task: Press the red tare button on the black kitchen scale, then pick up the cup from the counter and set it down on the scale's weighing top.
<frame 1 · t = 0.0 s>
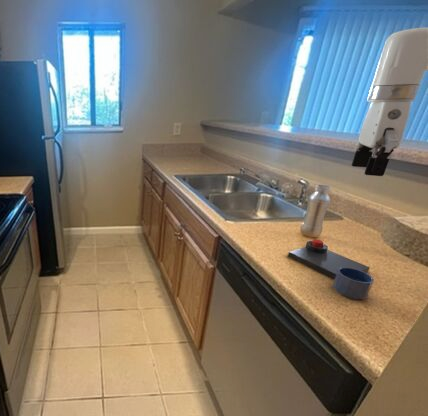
hand: (366, 170, 67), 33 cm above the worktop, tool pointing down, fingers open, 9 cm apart
cup: (348, 291, 75), on the worktop
scale: (325, 264, 88), on the worktop
tare button: (317, 243, 92), point 4 cm above the worktop, slide at 0.1 cm
silver bottle: (309, 235, 106), on the worktop
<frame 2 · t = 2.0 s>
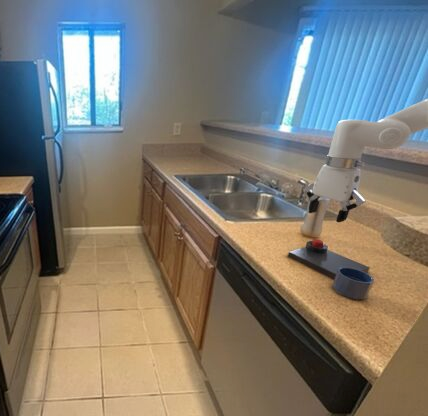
hand: (325, 216, 89), 14 cm above the worktop, tool pointing down, fingers open, 7 cm apart
nothing on the worktop moved.
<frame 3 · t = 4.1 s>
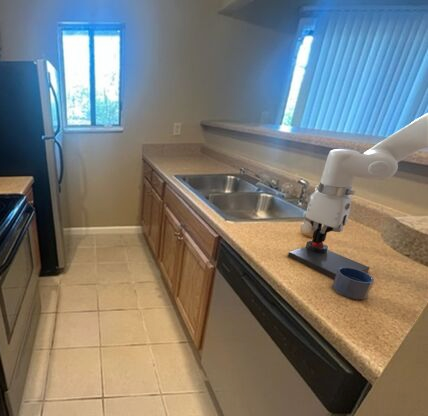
hand: (317, 241, 92), 5 cm above the worktop, tool pointing down, fingers closed
tare button: (317, 244, 92), point 4 cm above the worktop, slide at -0.2 cm, touching gripper
everything else where it was.
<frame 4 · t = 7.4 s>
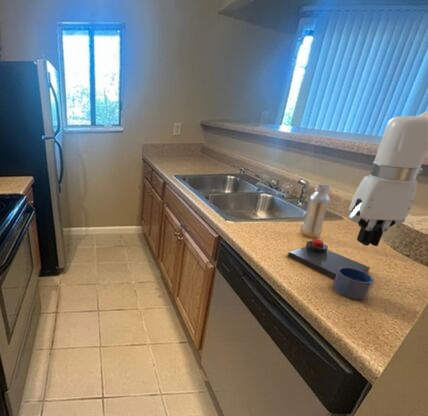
hand: (366, 242, 70), 15 cm above the worktop, tool pointing down, fingers closed
tare button: (317, 243, 92), point 4 cm above the worktop, slide at 0.1 cm
everything else where it was.
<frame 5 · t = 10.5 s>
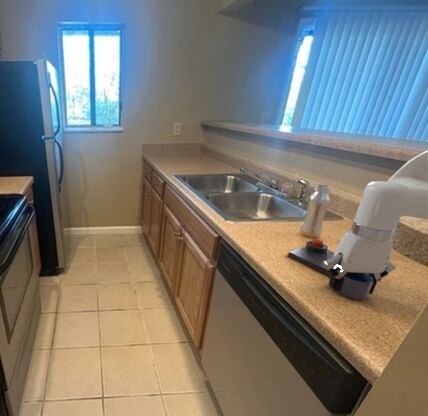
hand: (349, 289, 75), 1 cm above the worktop, tool pointing down, fingers closed on cup, 7 cm apart
cup: (348, 291, 75), on the worktop, touching gripper
everything else where it was.
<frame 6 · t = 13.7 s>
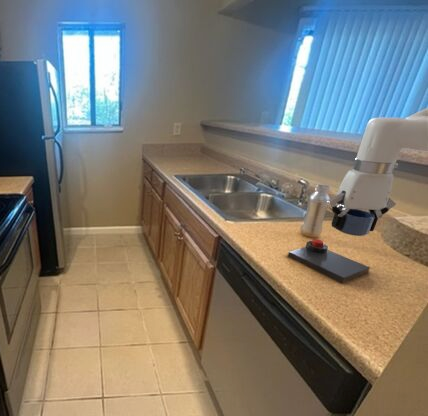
hand: (351, 228, 78), 15 cm above the worktop, tool pointing down, fingers closed on cup, 7 cm apart
cup: (350, 231, 78), point 14 cm above the worktop, touching gripper
everything else where it was.
when the fingers open (3 cm above the worktop, at t = 17.1 s): cup stays where it is, resting on scale.
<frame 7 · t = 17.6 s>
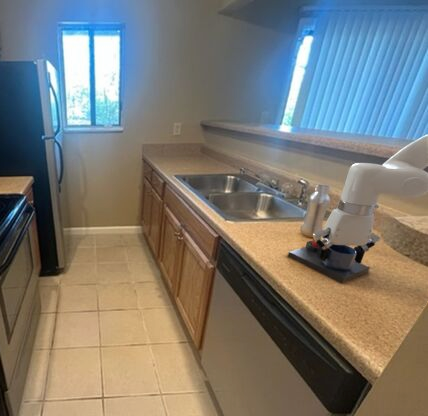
hand: (337, 259, 83), 4 cm above the worktop, tool pointing down, fingers open, 9 cm apart
cup: (335, 264, 84), point 2 cm above the worktop, touching scale
everything else where it was.
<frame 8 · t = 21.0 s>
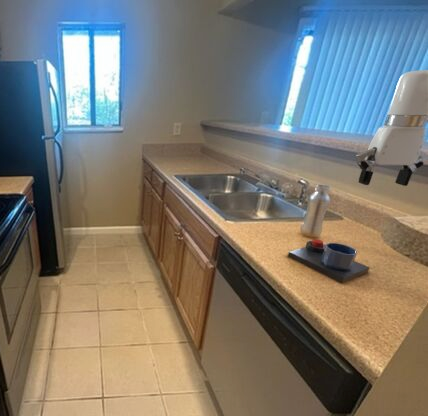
hand: (381, 184, 79), 26 cm above the worktop, tool pointing down, fingers open, 9 cm apart
nothing on the worktop moved.
at the end: tare button pushed in 0.9 cm at the most during the clip, back to where it started at the end; cup inside the target area on the scale (1.6 cm from its centre), point 1.9 cm above the scale's base; cup touching scale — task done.
